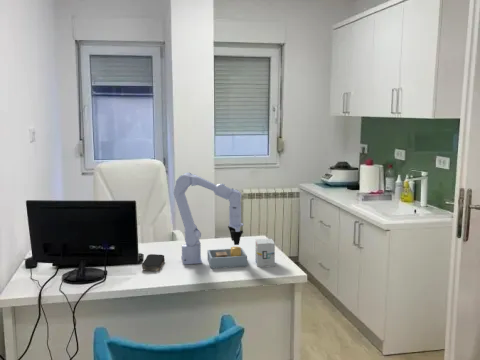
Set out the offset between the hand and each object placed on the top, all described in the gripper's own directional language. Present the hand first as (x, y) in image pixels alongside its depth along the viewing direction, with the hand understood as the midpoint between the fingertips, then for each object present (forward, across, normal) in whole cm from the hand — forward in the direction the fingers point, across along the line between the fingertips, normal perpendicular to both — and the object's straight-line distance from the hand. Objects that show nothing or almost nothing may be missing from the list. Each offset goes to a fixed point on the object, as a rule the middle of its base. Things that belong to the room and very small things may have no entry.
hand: (235, 242), depth 238 cm
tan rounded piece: (+10, 0, 0) cm, 10 cm away
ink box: (+11, -4, -14) cm, 18 cm away
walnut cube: (+10, -1, +7) cm, 12 cm away
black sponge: (+11, +3, +40) cm, 41 cm away
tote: (+10, +1, +4) cm, 11 cm away
